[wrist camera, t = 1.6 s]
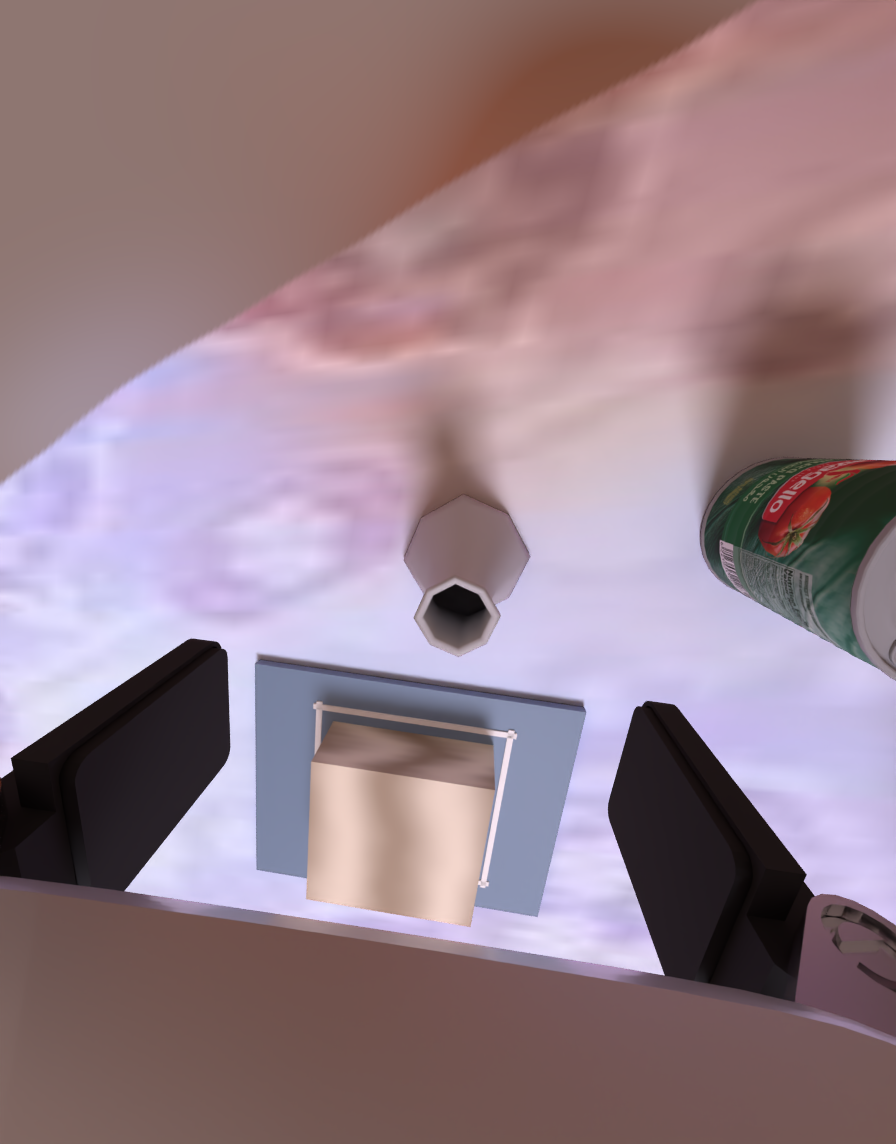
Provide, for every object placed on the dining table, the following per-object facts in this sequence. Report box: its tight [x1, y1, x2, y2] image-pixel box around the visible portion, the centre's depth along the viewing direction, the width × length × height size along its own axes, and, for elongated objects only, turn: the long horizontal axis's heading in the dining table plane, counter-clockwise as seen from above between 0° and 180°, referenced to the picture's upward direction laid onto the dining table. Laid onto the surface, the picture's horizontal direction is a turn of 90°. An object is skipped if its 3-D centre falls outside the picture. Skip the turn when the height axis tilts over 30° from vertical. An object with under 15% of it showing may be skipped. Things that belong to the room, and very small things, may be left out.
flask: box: [404, 494, 530, 657], centre depth 22 cm, size 7×7×10 cm
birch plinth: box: [306, 721, 495, 927], centre depth 29 cm, size 11×11×4 cm
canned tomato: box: [701, 457, 896, 680], centre depth 19 cm, size 8×8×11 cm
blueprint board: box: [255, 660, 586, 917], centre depth 31 cm, size 22×18×1 cm
